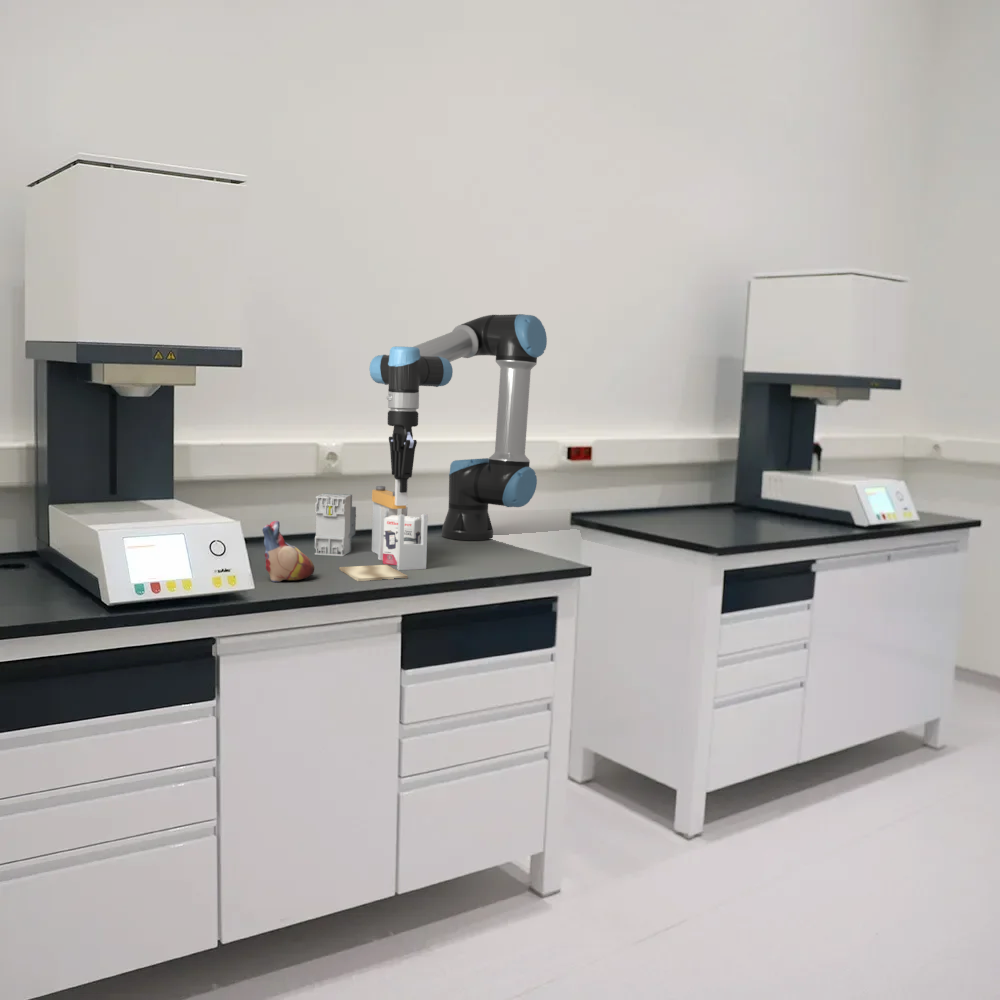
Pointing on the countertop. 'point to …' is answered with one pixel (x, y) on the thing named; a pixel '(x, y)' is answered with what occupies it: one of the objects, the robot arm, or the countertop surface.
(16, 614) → the countertop surface
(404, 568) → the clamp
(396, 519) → the ink box
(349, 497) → the circuit breaker
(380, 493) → the bar
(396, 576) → the birch pad
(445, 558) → the countertop surface
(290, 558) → the anatomical model
